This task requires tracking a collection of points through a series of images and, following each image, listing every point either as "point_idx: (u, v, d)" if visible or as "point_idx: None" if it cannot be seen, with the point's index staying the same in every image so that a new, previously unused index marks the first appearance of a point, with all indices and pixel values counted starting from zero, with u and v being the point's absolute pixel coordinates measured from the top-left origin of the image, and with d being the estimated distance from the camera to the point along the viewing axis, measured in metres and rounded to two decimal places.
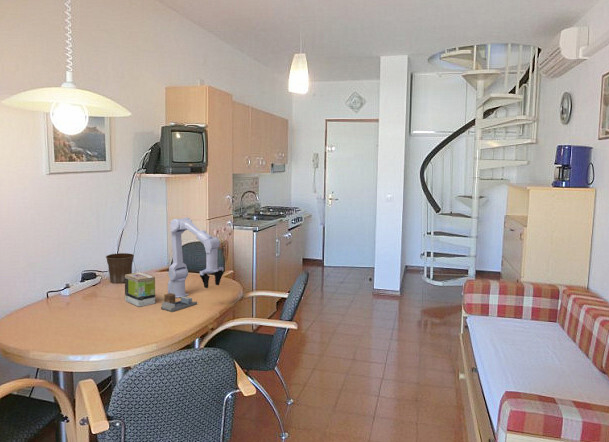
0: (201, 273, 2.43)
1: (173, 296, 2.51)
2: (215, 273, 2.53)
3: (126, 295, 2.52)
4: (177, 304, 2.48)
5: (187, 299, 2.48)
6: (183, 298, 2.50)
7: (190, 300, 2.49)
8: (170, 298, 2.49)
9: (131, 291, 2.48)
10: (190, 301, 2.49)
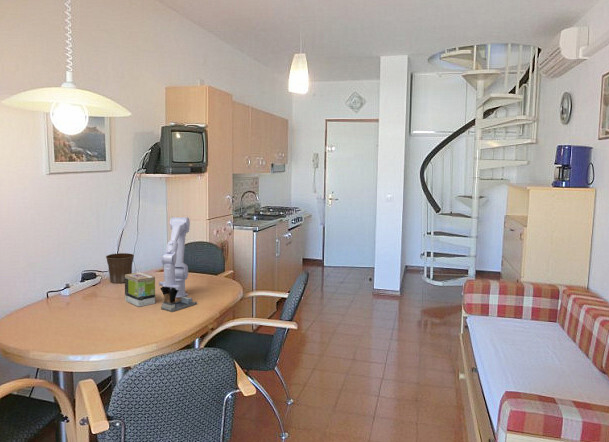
0: None
1: None
2: None
3: (126, 295, 2.52)
4: (177, 304, 2.48)
5: (187, 299, 2.48)
6: (183, 298, 2.50)
7: (190, 300, 2.49)
8: None
9: (131, 291, 2.48)
10: (190, 301, 2.49)
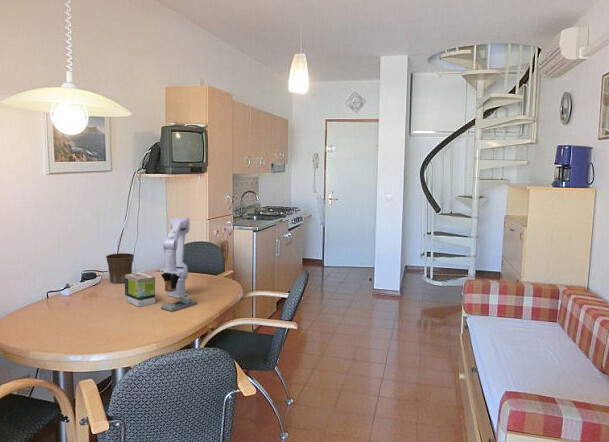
0: None
1: None
2: None
3: (126, 295, 2.52)
4: (177, 304, 2.48)
5: (187, 299, 2.48)
6: (183, 298, 2.50)
7: (190, 300, 2.49)
8: (170, 285, 2.45)
9: (131, 291, 2.48)
10: (190, 301, 2.49)
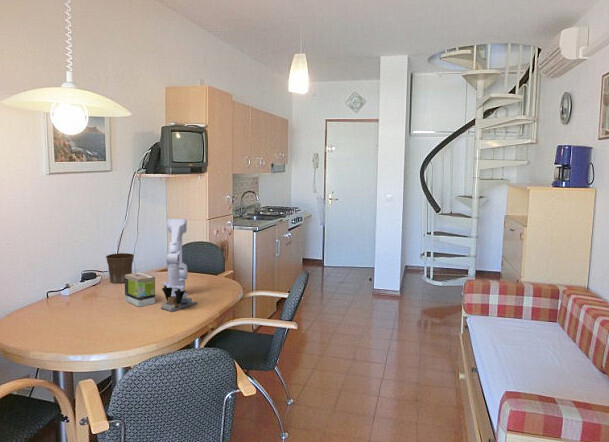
0: None
1: None
2: None
3: (126, 295, 2.52)
4: None
5: (187, 299, 2.48)
6: (183, 298, 2.50)
7: (190, 300, 2.49)
8: (173, 302, 2.41)
9: (131, 291, 2.48)
10: (190, 301, 2.49)
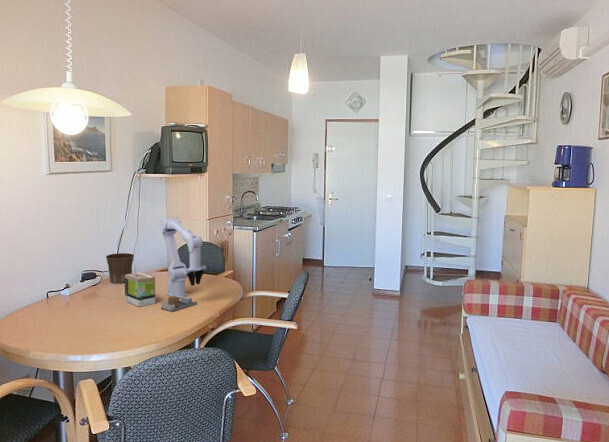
0: (185, 272, 2.47)
1: (177, 299, 2.42)
2: (195, 272, 2.56)
3: (126, 295, 2.52)
4: None
5: (187, 299, 2.48)
6: (183, 298, 2.50)
7: (190, 300, 2.49)
8: (173, 302, 2.41)
9: (131, 291, 2.48)
10: (190, 301, 2.49)
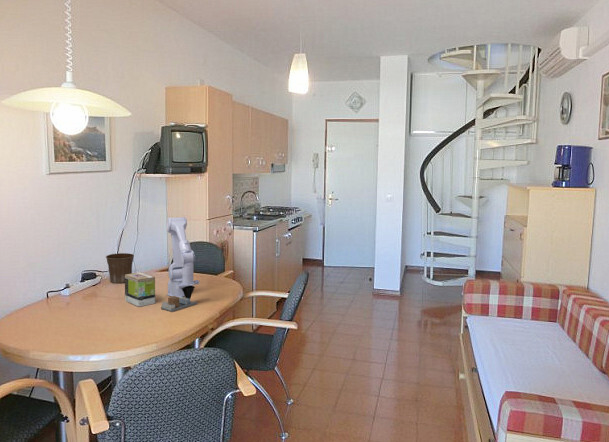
0: (177, 287, 2.44)
1: (177, 299, 2.42)
2: None
3: (126, 295, 2.52)
4: None
5: (185, 300, 2.47)
6: (182, 298, 2.49)
7: (188, 301, 2.48)
8: (173, 302, 2.41)
9: (131, 291, 2.48)
10: (188, 302, 2.48)
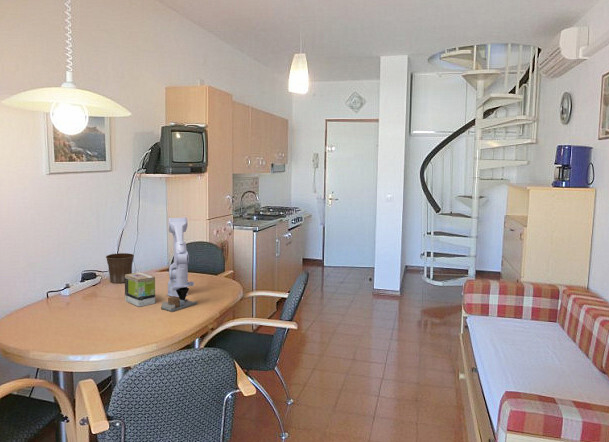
0: (171, 289, 2.41)
1: (177, 299, 2.42)
2: None
3: (126, 295, 2.52)
4: None
5: (179, 301, 2.44)
6: None
7: (182, 302, 2.45)
8: (173, 302, 2.41)
9: (131, 291, 2.48)
10: (182, 303, 2.45)
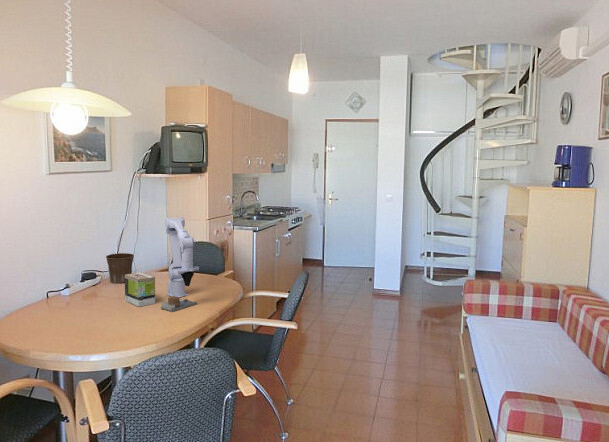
0: (176, 273, 2.43)
1: (177, 299, 2.42)
2: None
3: (126, 295, 2.52)
4: None
5: (179, 301, 2.44)
6: None
7: (182, 302, 2.45)
8: (173, 302, 2.41)
9: (131, 291, 2.48)
10: (182, 303, 2.45)
